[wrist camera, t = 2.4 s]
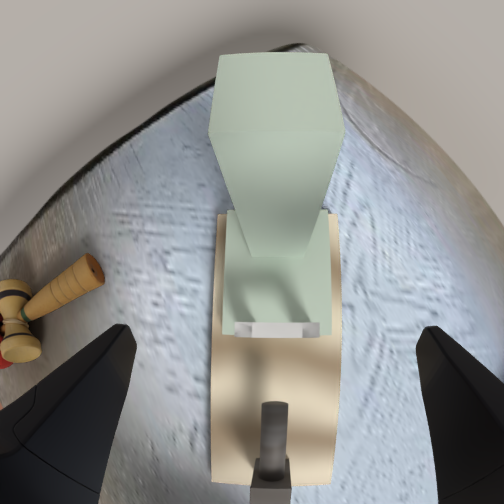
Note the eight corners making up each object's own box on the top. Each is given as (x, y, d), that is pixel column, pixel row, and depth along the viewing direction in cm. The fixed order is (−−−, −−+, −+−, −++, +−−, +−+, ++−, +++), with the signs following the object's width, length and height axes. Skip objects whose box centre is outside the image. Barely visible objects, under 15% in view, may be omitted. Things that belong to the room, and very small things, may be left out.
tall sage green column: (328, 334, 19) (437, 345, 5) (225, 333, 19) (114, 343, 6) (325, 215, 21) (380, 60, 7) (230, 216, 21) (166, 62, 8)
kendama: (93, 235, 25) (-14, 315, 22) (65, 217, 19) (-49, 314, 15) (127, 307, 25) (11, 377, 21) (103, 308, 18) (-22, 388, 15)
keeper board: (328, 478, 17) (341, 515, 11) (214, 476, 18) (196, 511, 12) (334, 218, 22) (350, 185, 17) (220, 218, 23) (203, 186, 17)
